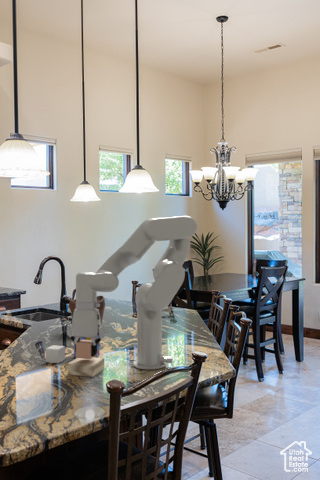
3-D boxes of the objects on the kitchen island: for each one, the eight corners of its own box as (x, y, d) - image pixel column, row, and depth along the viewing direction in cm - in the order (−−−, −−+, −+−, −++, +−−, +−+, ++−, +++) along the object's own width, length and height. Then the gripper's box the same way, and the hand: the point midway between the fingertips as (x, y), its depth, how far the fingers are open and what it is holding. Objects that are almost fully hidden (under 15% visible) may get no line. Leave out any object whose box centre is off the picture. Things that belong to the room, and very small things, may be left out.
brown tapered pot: (60, 333, 242) (60, 297, 241) (84, 326, 260) (84, 293, 259) (89, 337, 234) (89, 300, 233) (111, 330, 251) (112, 295, 251)
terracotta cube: (96, 355, 179) (96, 340, 179) (89, 359, 173) (89, 343, 173) (82, 354, 180) (82, 339, 180) (75, 357, 175) (75, 342, 175)
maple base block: (104, 368, 180) (104, 358, 180) (93, 376, 171) (93, 365, 171) (79, 366, 183) (79, 356, 183) (67, 374, 174) (67, 363, 174)
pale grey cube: (64, 359, 194) (64, 346, 193) (58, 363, 188) (58, 349, 188) (52, 358, 195) (52, 345, 195) (45, 362, 190) (45, 348, 190)
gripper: (111, 305, 178) (111, 354, 178) (69, 303, 182) (69, 350, 183) (103, 308, 171) (103, 359, 171) (60, 306, 175) (60, 355, 176)
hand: (86, 354), depth 177 cm, fingers closed on terracotta cube, 5 cm apart
